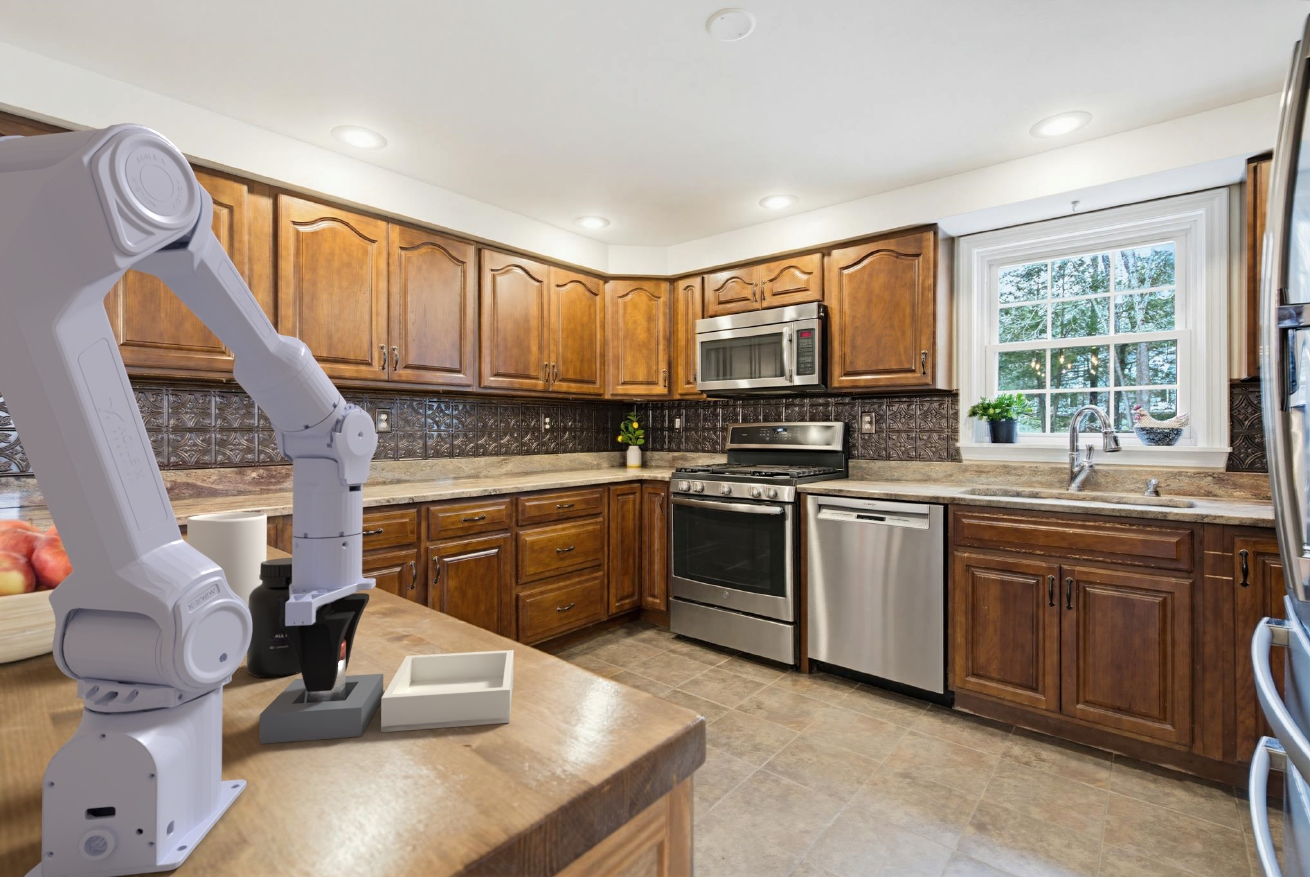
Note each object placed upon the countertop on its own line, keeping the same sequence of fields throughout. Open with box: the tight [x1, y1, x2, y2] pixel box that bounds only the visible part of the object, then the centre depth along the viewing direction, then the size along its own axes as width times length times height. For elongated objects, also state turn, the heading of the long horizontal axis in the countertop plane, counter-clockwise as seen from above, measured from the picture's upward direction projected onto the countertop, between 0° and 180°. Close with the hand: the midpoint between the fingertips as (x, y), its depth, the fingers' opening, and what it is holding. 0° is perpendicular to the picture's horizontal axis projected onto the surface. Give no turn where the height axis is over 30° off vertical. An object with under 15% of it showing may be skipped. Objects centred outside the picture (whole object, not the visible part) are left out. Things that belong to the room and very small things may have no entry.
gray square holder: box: [259, 673, 384, 745], centre depth 58 cm, size 8×8×2 cm
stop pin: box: [308, 639, 346, 703], centre depth 58 cm, size 3×3×7 cm
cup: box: [186, 511, 268, 606], centre depth 79 cm, size 8×8×16 cm
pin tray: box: [380, 649, 515, 733], centre depth 62 cm, size 11×11×3 cm
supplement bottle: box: [246, 557, 301, 678], centre depth 71 cm, size 7×7×12 cm
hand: (326, 682), depth 58 cm, fingers closed on stop pin, 3 cm apart
